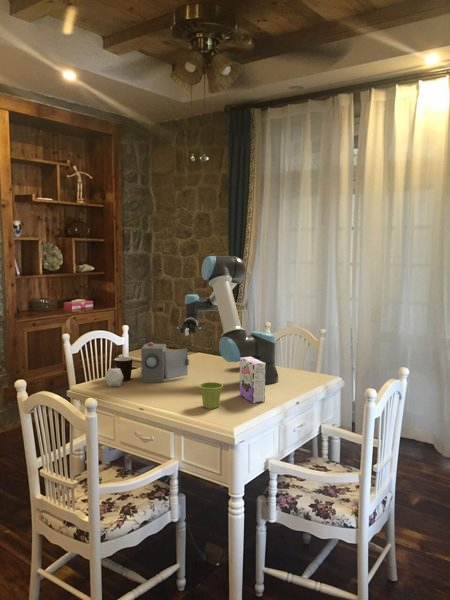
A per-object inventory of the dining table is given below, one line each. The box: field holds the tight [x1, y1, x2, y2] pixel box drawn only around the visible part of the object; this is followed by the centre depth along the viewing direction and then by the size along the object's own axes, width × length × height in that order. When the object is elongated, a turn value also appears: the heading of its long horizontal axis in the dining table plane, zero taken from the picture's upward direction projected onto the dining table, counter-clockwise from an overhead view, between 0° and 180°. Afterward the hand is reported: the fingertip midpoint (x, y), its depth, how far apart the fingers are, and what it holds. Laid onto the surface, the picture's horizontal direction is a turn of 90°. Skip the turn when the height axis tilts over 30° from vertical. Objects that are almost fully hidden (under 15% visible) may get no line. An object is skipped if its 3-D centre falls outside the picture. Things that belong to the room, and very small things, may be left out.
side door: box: [163, 347, 190, 380], centre depth 242 cm, size 13×2×13 cm, turn 129°
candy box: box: [239, 357, 266, 404], centre depth 212 cm, size 14×6×16 cm, turn 22°
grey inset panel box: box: [140, 341, 167, 383], centre depth 243 cm, size 14×10×17 cm
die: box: [104, 368, 124, 388], centre depth 232 cm, size 8×9×10 cm
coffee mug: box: [113, 356, 133, 382], centre depth 245 cm, size 12×9×10 cm
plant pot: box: [198, 381, 224, 410], centre depth 201 cm, size 9×9×9 cm
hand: (186, 332), depth 250 cm, fingers closed
